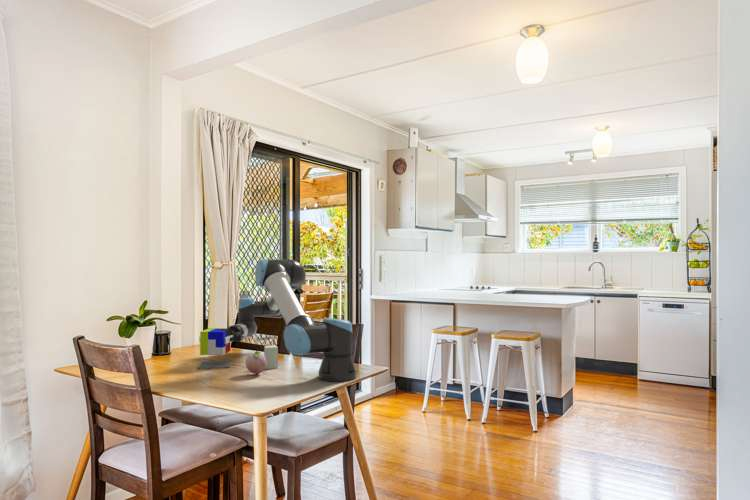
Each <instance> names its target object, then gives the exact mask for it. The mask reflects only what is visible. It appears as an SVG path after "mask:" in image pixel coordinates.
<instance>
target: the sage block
mask: <svg viewBox="0 0 750 500" xmlns="http://www.w3.org/2000/svg"><path fill="white" fill-rule="evenodd" d="M263 347H264V348H263V351H264V353H263V355H264V356H265V358H266V361H267V363H266V367H265V370H270V369H271V370H274V368H275V369H278V368H279V347H278V346H277V345H276V344H275V345H264V346H263Z"/></svg>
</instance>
